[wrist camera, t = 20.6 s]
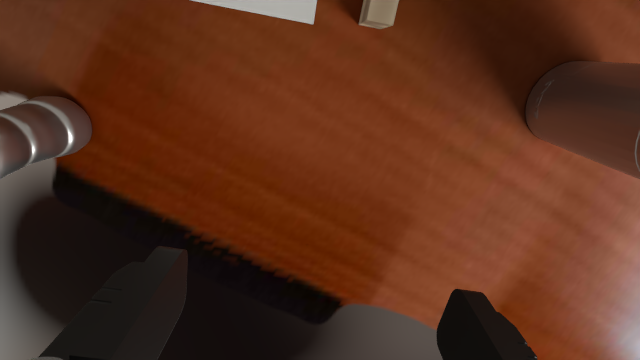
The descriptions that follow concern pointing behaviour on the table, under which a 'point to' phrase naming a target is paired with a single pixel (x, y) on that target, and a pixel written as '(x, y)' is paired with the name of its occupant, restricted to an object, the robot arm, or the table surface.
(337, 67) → the table surface
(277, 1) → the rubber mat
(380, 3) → the scraper
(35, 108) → the plastic bottle
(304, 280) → the table surface
